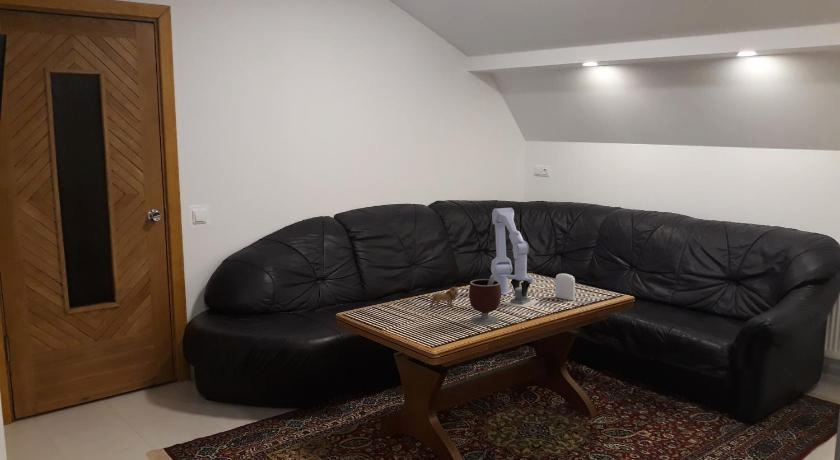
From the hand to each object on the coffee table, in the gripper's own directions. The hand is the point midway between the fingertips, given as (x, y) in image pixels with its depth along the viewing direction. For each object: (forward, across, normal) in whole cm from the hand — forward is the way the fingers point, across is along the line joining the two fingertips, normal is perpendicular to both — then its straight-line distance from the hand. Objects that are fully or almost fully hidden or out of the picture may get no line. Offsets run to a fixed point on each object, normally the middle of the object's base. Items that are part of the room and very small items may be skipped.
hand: (520, 295), depth 311 cm
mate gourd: (+4, -6, +35) cm, 35 cm away
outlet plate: (+4, 0, 0) cm, 4 cm away
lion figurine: (+4, +24, +28) cm, 37 cm away
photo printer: (+4, -12, -21) cm, 25 cm away
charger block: (+2, 0, 0) cm, 2 cm away
